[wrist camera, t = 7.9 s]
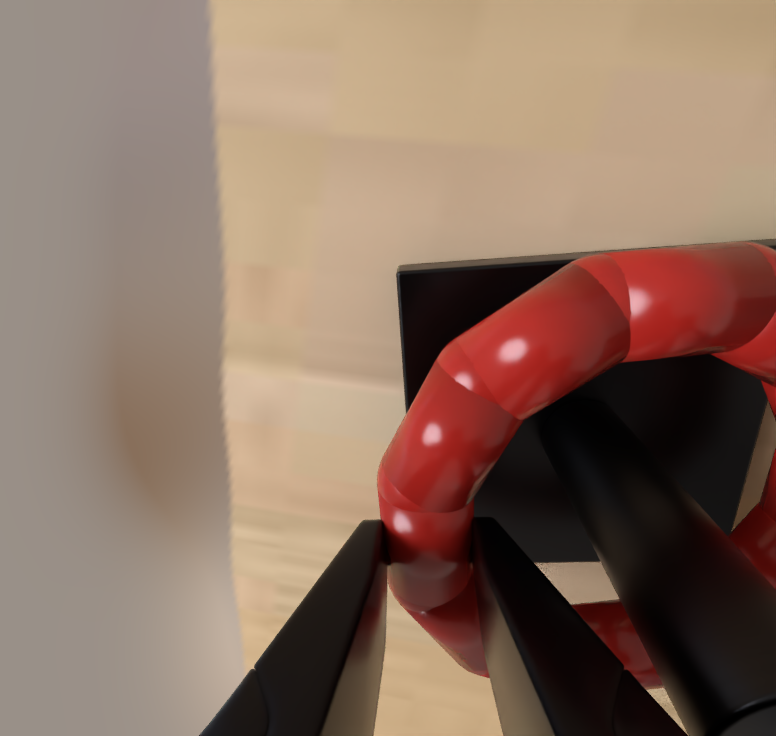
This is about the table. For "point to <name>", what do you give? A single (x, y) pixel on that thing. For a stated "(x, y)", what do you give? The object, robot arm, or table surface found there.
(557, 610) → the robot arm
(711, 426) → the peg
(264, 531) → the table surface
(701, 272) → the ring
